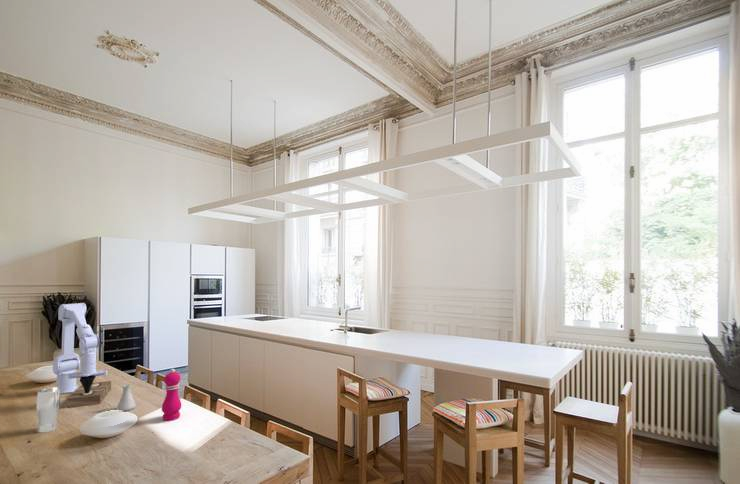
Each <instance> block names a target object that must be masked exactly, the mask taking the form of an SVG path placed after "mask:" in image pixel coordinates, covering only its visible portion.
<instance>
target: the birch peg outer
mask: <svg viewBox="0 0 740 484" xmlns="http://www.w3.org/2000/svg"><path fill="white" fill-rule="evenodd" d="M91 394H93V391H90V392H89V393H86V394H85V392H83V393H82V394H81V396H82V395H91Z"/></svg>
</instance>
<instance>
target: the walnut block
mask: <svg viewBox="0 0 740 484" xmlns="http://www.w3.org/2000/svg"><path fill="white" fill-rule="evenodd" d="M92 384H100V386H98V387H91V388H90V391H93V394H91V395H82V396H81V394H82V393H83V392H85V391H84V388H83V385H82V384H81V385H79V387H78V388H77V389H76V390H75V391H74V392H72V394H71V395H70V396H69V397H68V398H67V406H66V408H67V409H71V408H79V407H86V406H88V407H89V406H95V405H96V406H97V405H100V404H101V403H102V402H103V401H104V400H105V399H106V396H107V395H108V393H109V392H110V391H111V390H112V380H109V381H108V380H107V381H99V382H93V383H92Z"/></svg>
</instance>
